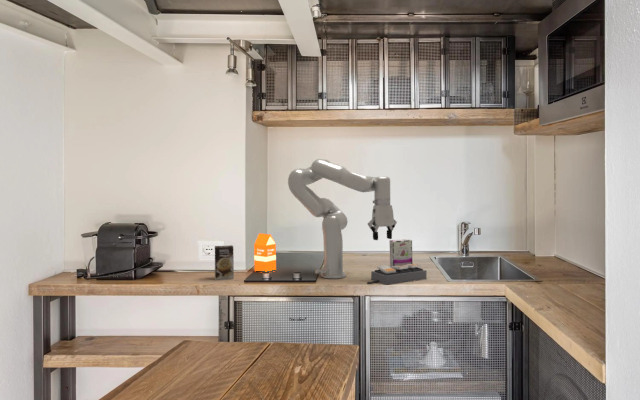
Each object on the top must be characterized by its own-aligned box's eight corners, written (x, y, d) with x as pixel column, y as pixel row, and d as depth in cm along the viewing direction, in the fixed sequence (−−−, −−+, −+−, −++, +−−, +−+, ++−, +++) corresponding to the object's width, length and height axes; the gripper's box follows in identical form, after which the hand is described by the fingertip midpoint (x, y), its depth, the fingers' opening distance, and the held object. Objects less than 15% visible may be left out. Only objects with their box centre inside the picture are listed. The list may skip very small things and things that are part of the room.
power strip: (374, 286, 202) (374, 276, 201) (360, 281, 212) (359, 271, 212) (426, 278, 216) (426, 269, 216) (410, 274, 226) (410, 264, 226)
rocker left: (386, 274, 207) (387, 271, 207) (377, 268, 214) (377, 265, 214) (395, 272, 210) (395, 270, 209) (385, 267, 216) (385, 264, 216)
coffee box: (215, 280, 218) (214, 247, 217) (214, 277, 224) (214, 245, 223) (234, 279, 220) (233, 246, 219) (233, 276, 227) (232, 244, 226)
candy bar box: (408, 269, 239) (408, 238, 238) (412, 271, 234) (412, 240, 233) (389, 270, 236) (389, 239, 235) (393, 272, 231) (393, 241, 230)
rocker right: (412, 267, 214) (412, 264, 214) (402, 267, 221) (401, 265, 221) (420, 266, 216) (420, 263, 216) (410, 266, 223) (409, 264, 224)
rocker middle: (399, 269, 211) (399, 266, 211) (389, 269, 218) (389, 266, 218) (408, 268, 213) (408, 265, 213) (398, 268, 220) (397, 265, 220)
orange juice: (266, 273, 233) (265, 235, 232) (254, 271, 238) (253, 234, 237) (276, 270, 239) (275, 233, 238) (264, 268, 244) (263, 232, 243)
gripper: (371, 203, 205) (371, 241, 206) (401, 202, 214) (401, 238, 214) (362, 202, 212) (362, 239, 213) (392, 201, 220) (392, 237, 221)
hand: (382, 239), depth 214 cm, fingers open, 7 cm apart
